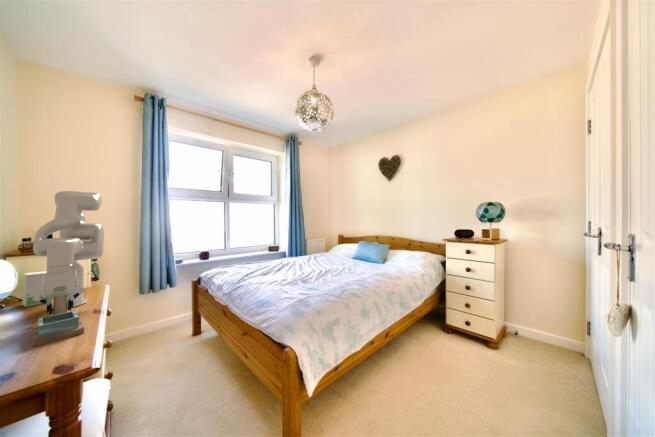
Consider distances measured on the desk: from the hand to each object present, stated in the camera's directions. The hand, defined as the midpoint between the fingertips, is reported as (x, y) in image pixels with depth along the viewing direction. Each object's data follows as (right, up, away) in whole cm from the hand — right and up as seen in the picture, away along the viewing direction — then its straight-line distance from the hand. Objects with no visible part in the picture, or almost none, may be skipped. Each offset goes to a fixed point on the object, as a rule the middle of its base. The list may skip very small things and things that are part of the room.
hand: (60, 311), depth 96 cm
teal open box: (+11, -4, -10) cm, 16 cm away
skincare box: (-34, -4, +19) cm, 39 cm away
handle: (0, -4, 0) cm, 4 cm away
